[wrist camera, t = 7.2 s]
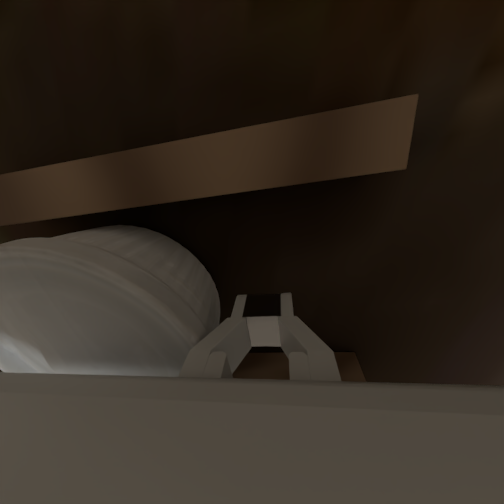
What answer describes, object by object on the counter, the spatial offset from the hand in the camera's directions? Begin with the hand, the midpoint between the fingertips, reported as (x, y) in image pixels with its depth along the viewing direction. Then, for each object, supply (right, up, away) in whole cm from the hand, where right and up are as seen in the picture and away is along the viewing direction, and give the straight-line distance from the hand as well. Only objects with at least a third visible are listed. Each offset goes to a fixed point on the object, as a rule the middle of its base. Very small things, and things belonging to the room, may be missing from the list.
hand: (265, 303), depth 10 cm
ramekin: (-7, 0, +3) cm, 8 cm away
